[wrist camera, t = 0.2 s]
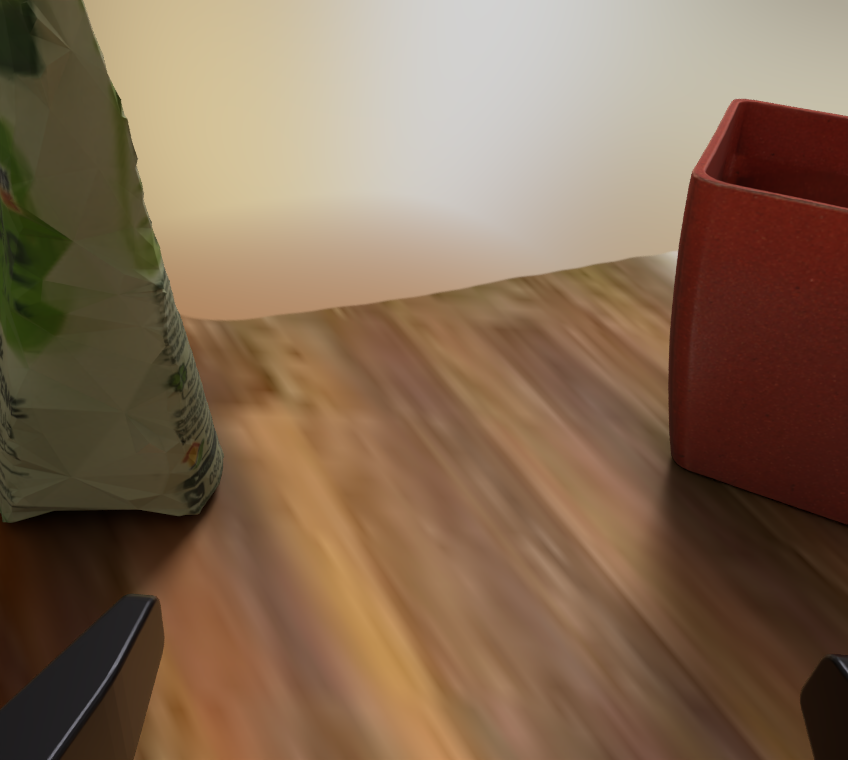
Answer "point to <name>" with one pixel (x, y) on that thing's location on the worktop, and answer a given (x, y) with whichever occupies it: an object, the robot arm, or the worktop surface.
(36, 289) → the pouch
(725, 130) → the plant pot
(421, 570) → the worktop surface
